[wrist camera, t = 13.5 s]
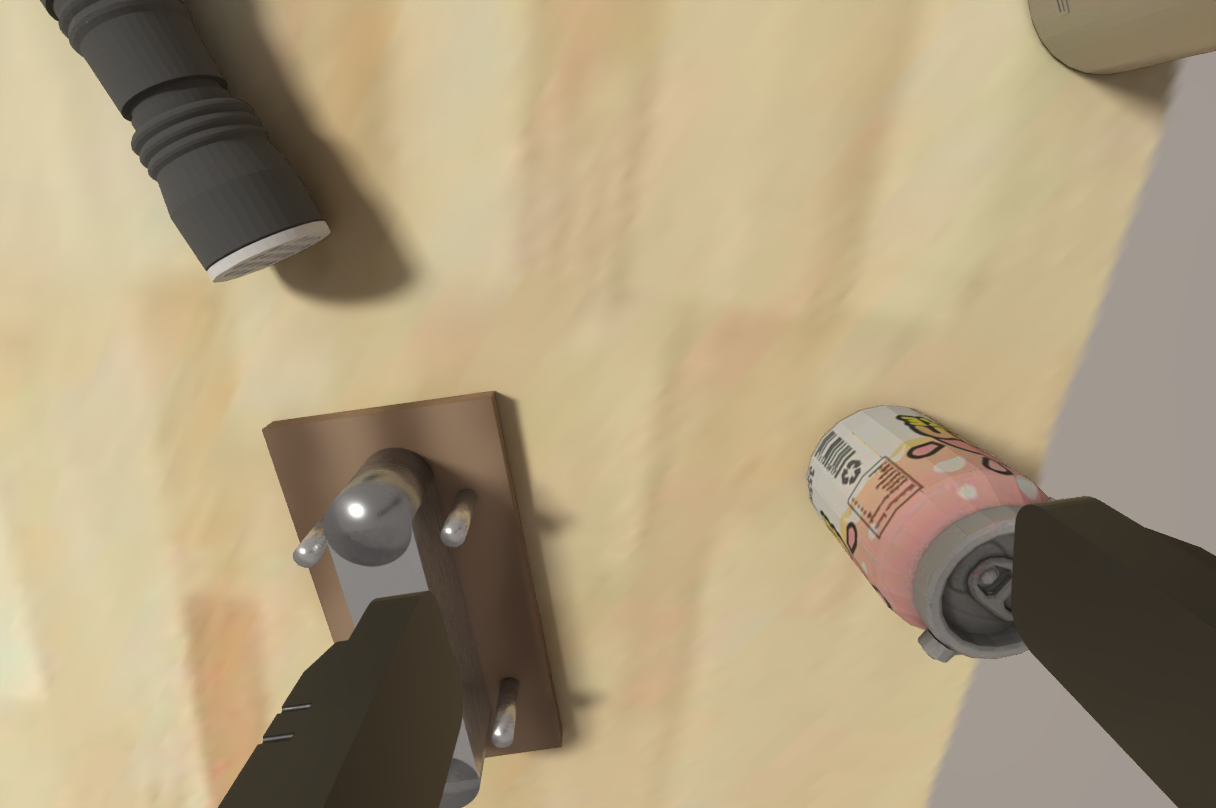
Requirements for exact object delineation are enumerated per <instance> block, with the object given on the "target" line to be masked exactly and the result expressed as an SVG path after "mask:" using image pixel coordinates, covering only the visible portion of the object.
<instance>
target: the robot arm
mask: <svg viewBox="0 0 1216 808" xmlns="http://www.w3.org/2000/svg"><path fill="white" fill-rule="evenodd" d="M1028 3H1029V8H1030V12H1031V17H1032V21H1033V24H1034V26H1035V28H1036V30H1037V32H1038V35H1039V37H1040V39H1041V41H1042V42H1043V43H1044V44H1045V46H1046V47H1047V48H1048V50H1049V51H1050V52H1051V53H1052V55H1053V56H1055V57H1056V58H1058V59H1059V60H1060V61H1062V62H1063V63H1064V64H1066V65H1067V66H1069V67H1071V68H1074V69H1077V70H1079V71H1082V72H1085V73H1093V74H1104V75H1105V74H1112V73H1119V72H1125V71H1130V70H1134V69H1138V68H1142V67H1147V66H1151V65H1155V64H1159V63H1164V62H1168V61H1172V60H1177V59H1181V58H1185V57H1189V56H1194V55H1199V54H1204V53H1208V52H1212V51H1216V0H1028ZM1011 611H1012V616H1013V619H1014V623H1015V625H1016V628H1017V630H1018V633H1019V635H1020V637H1021V638H1022V640H1023V642H1024V643H1025V645H1026V646H1027V648H1028V649H1029V650H1030V651H1031V653H1032V654H1033V655H1034V656H1035V657H1036V658H1037V659H1038V660H1039V661H1040V662H1041V663H1042V664H1043V665H1044V666H1045V668H1046V669H1047V670H1048V671H1049V672H1050V673H1051V674H1052V675H1053V676H1054V677H1055V678H1056V679H1057V680H1058V681H1059V682H1060V683H1061V684H1062V685H1063V687H1064V688H1065V689H1066V690H1067V691H1068V692H1069V693H1070V694H1071V695H1072V696H1073V697H1074V698H1075V699H1076V700H1077V701H1078V702H1079V703H1080V704H1081V705H1082V707H1083V708H1084V709H1085V710H1086V711H1087V712H1088V713H1089V714H1090V715H1091V716H1092V717H1093V718H1094V719H1095V720H1096V721H1097V722H1098V723H1099V724H1100V726H1102V728H1103V729H1104V730H1105V731H1106V732H1107V733H1108V734H1109V735H1110V736H1111V737H1112V738H1113V739H1114V740H1115V741H1116V742H1117V743H1118V744H1119V745H1120V747H1121V748H1122V749H1123V750H1124V751H1125V752H1126V753H1127V754H1128V755H1129V756H1130V757H1131V758H1132V759H1133V760H1134V761H1135V762H1136V764H1137V765H1138V766H1139V767H1140V768H1141V769H1142V770H1143V771H1144V772H1145V773H1146V774H1147V775H1148V776H1149V777H1150V778H1151V779H1152V780H1153V781H1154V783H1155V784H1156V785H1157V786H1158V787H1159V788H1160V789H1161V790H1162V791H1163V792H1164V793H1165V794H1166V795H1167V796H1168V797H1169V798H1170V799H1171V800H1172V801H1173V803H1174V804H1175V805H1176V806H1177V807H1178V808H1216V556H1214V555H1213V554H1211V553H1209V552H1207V551H1206V550H1204V549H1202V548H1201V547H1198V546H1195V545H1192V544H1189V543H1187V542H1184V541H1181V540H1178V539H1176V538H1173V537H1170V536H1167V535H1165V534H1162V533H1159V532H1156V531H1153V530H1151V529H1148V528H1144V527H1143V526H1141V525H1139V524H1138V523H1136V522H1134V521H1133V520H1131V519H1129V518H1128V517H1126V516H1124V515H1123V514H1121V513H1120V512H1118V511H1116V510H1115V509H1113V508H1111V507H1110V506H1108V505H1106V504H1105V503H1103V502H1101V501H1100V500H1097V499H1096V498H1092V497H1087V496H1083V497H1076V498H1070V499H1062V500H1056V501H1049V502H1042V503H1035V504H1029V505H1025V506H1023V507H1022V508H1021V509H1020V510H1019V512H1018V513H1017V516H1016V521H1015V534H1014V551H1013V568H1012V586H1011ZM462 715H463V691H462V683H461V678H460V675H459V671H458V668H457V665H456V661H455V658H454V655H453V651H452V648H451V645H450V641H449V638H448V635H447V631H446V628H445V625H444V621H443V618H442V615H441V611H440V608H439V605H438V602H437V600H436V598H435V596H434V595H433V593H432V592H430V591H422V592H415V593H408V594H401V595H394V596H387V597H381V598H375V599H373V600H372V601H371V602H370V604H369V605H368V607H367V608H366V610H365V612H364V613H363V615H362V617H361V619H360V620H359V622H358V624H357V626H356V627H355V629H354V631H353V632H352V634H351V636H350V638H349V639H348V640H345V641H338V642H336V643H335V644H334V645H333V646H331V647H330V648H329V649H328V650H327V651H326V652H325V653H324V654H323V655H322V656H321V657H320V658H319V659H317V660H316V661H315V662H314V663H313V664H312V665H311V666H310V667H309V668H308V669H307V670H306V671H305V672H304V673H303V674H302V676H301V677H300V679H299V680H298V682H297V684H296V685H295V687H294V688H293V690H292V691H291V693H290V695H289V696H288V698H287V699H286V701H285V703H284V704H283V706H282V713H280V714H277V715H276V717H275V718H274V720H273V721H272V723H271V725H270V726H269V728H268V729H267V731H266V733H265V734H264V736H263V743H262V744H259V745H257V747H256V748H255V750H254V751H253V753H252V755H251V756H250V758H249V759H248V761H247V763H246V764H245V766H244V767H243V769H242V770H241V772H240V774H239V775H238V777H237V778H236V780H235V781H234V783H233V785H232V786H231V788H230V789H229V791H228V793H227V794H226V796H225V797H224V799H223V800H222V802H221V804H220V805H219V807H218V808H439V806H440V802H441V799H442V795H443V791H444V787H445V784H446V780H447V776H448V773H449V769H450V765H451V761H452V758H453V754H454V750H455V747H456V743H457V739H458V735H459V732H460V728H461V723H462Z"/></svg>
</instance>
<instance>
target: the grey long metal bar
mask: <svg viewBox="0 0 1216 808" xmlns="http://www.w3.org/2000/svg"><path fill="white" fill-rule="evenodd" d="M445 521H446V520H445V516H444V512H443V508H442V504H441V500H440V496H439V492H438V488H437V484H436V480H435V476H434V473H433V470H432V468H431V467H430V465H429V464H428V463H427V461H426V460H425V459H423V458H422V457H421V456H420V455H418V454H417V453H415V452H413V451H410V450H407V449H404V448H386V449H382V450H379V451H377V452H375V453H374V454H372V455H371V456H370V457H369V458H368V459H367V460H366V461H365V463H364V464H363V465H362V466H361V468H360V469H359V470H358V471H357V473H356V474H355V475H354V476H353V477H352V479H351V480H350V481H349V482H348V484H347V485H346V486H345V487H344V489H343V490H342V491H341V492H340V494H339V495H338V496H337V497H336V499H335V500H334V501H333V502H332V503H331V505H330V506H329V507H328V509H327V511H326V513H325V516H324V521H323V528H324V534H325V537H326V540H327V543H328V547H329V550H330V553H331V556H332V559H333V562H334V565H335V568H336V571H337V574H338V578H339V581H340V584H341V587H342V590H343V593H344V596H345V599H346V602H347V606H348V609H349V612H350V615H351V618H352V621H353V624H354V627H356V626H357V624H358V622H359V620H360V619H361V617H362V615H363V613H364V612H365V610H366V608H367V607H368V605H369V604H370V602H371V601H372V600H373V599H375V598H381V597H387V596H394V595H401V594H408V593H415V592H422V591H430V592H432V593H433V595H434V596H435V598H436V600H437V602H438V605H439V608H440V611H441V615H442V618H443V621H444V625H445V628H446V631H447V635H448V638H449V641H450V645H451V648H452V651H453V655H454V658H455V661H456V665H457V668H458V671H459V675H460V678H461V683H462V691H463V715H462V723H461V728H460V732H459V735H458V739H457V743H456V747H455V750H454V754H453V758H452V761H451V765H450V769H449V773H448V776H447V780H446V784H445V787H444V791H443V795H442V799H441V802H440V806H439V808H461V807H464V806H466V805H467V804H469V803H470V802H471V801H472V800H473V799H474V798H475V797H476V795H477V794H478V791H479V788H480V782H481V776H482V770H483V764H484V758H485V752H486V746H487V740H488V734H489V728H490V722H491V716H492V707H491V703H490V699H489V695H488V691H487V687H486V683H485V679H484V675H483V671H482V666H481V662H480V658H479V654H478V650H477V646H476V642H475V638H474V634H473V630H472V626H471V622H470V618H469V614H468V610H467V606H466V601H465V597H464V593H463V589H462V585H461V581H460V577H459V573H458V569H457V565H456V561H455V557H454V553H453V549H452V547H449V546H447V545H445V544H444V543H443V542H442V541H441V538H440V534H441V531H442V528H443V526H444V524H445Z"/></svg>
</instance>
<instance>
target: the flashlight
mask: <svg viewBox="0 0 1216 808" xmlns="http://www.w3.org/2000/svg"><path fill="white" fill-rule="evenodd" d="M40 1H41V2H42V4H43V5H44V7H45V8H46V10H47V11H48V13H49V14H50V16H52V17H53V18H54V19H55V20H57V21H59V27H60V30H61V31H62V33H63V34H64V35H65V36H66V37H67V38H69V42H70V45H71V46H72V48H73V49H74V50H75V51H76V52H77V53H78V54H80V55H81V56H82V57H84V58H85V60H86V61H87V63H88V64H89V66H90V67H91V69H92V70H93V72H94V73H95V75H96V76H97V78H98V79H99V81H100V82H101V84H102V85H103V87H104V88H105V90H106V92H107V93H108V95H109V96H110V98H111V99H112V101H113V102H114V104H115V105H116V107H117V108H118V110H119V111H120V113H121V114H122V116H123V117H124V118H125V119H126V120H128V121H131V122H132V125H133V127H134V128H135V130H136V132H135V133H134V135H133V137H132V141H131V147H132V150H133V151H134V153H136V154H137V155H138V156H140V162H141V163H142V165H143V166H145V167H146V168H148V173H149V175H150V177H151V178H152V179H154V180H156V181H158V184H159V187H160V189H161V192H162V195H163V198H164V201H165V203H166V206H167V209H168V212H169V214H170V217H171V219H172V221H173V222H174V224H175V225H176V227H177V228H178V230H179V231H180V233H181V234H182V236H183V237H184V239H185V240H186V242H187V243H188V245H189V246H190V248H191V249H192V251H193V252H194V254H195V255H196V257H197V258H198V260H199V261H200V263H201V264H202V266H203V267H204V269H205V270H206V271H207V273H208V275H209V276H210V278H211V279H212V281H213V282H223V281H228V280H232V279H235V278H239V277H242V276H244V275H247V274H250V273H253V272H255V271H258V270H261V269H264V268H266V267H268V266H271V265H273V264H276V263H278V262H280V261H282V260H284V259H286V258H288V257H290V256H292V255H294V254H296V253H298V252H300V251H302V250H304V249H306V248H308V247H310V246H312V245H314V244H316V243H318V242H319V241H321V240H322V239H324V238H325V237H326V236H328V235H329V234H330V233H331V231H330V229H329V227H328V225H327V224H326V222H325V221H324V219H323V217H322V215H321V214H320V212H319V210H318V209H317V207H316V205H315V203H314V202H313V200H312V198H311V197H310V195H309V193H308V191H307V190H306V188H305V186H304V185H303V183H302V181H301V179H300V178H299V176H298V174H297V173H296V171H295V169H294V168H293V167H292V166H291V165H290V164H289V163H288V162H287V161H286V160H285V159H284V157H283V156H282V155H281V154H280V153H279V152H278V151H277V150H276V149H275V148H274V147H273V146H272V144H271V143H270V142H269V141H268V133H267V132H266V131H265V130H264V129H263V128H262V127H261V122H260V120H259V119H258V118H257V117H256V116H255V115H254V110H253V108H252V107H251V106H250V105H249V104H247V103H246V102H244V101H242V100H239V99H235V98H232V97H231V95H230V93H229V92H228V91H227V82H226V81H225V79H224V77H223V76H222V74H221V72H220V71H219V69H218V67H217V66H216V64H215V62H214V60H213V59H212V57H211V55H210V54H209V52H208V50H207V49H206V47H205V45H204V44H203V42H202V40H201V39H200V37H199V35H198V34H197V32H196V30H195V28H194V27H193V21H192V17H191V15H190V13H189V11H188V10H187V9H186V8H185V7H184V6H183V3H182V0H40Z"/></svg>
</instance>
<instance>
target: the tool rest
mask: <svg viewBox="0 0 1216 808" xmlns="http://www.w3.org/2000/svg"><path fill="white" fill-rule="evenodd" d="M262 432H263V435H264V437H265V440H266V443H267V446H268V449H269V452H270V455H271V458H272V461H273V464H274V467H275V470H276V473H277V476H278V479H279V482H280V485H281V488H282V491H283V494H284V497H285V499H286V502H287V505H288V508H289V511H290V514H291V517H292V520H293V523H294V526H295V529H296V532H297V535H298V538H299V541H300V545H299V546H298V547H297V548H296V550H295V551H294V553H293V559H294V561H295V562H296V563H297V564H298V565H299V566H302V567H305V568H309V570H310V573H311V576H312V579H313V582H314V585H315V588H316V591H317V594H318V597H319V600H320V603H321V606H322V609H323V612H324V615H325V618H326V621H327V623H328V626H329V629H330V632H331V635H332V638H333V641H334V644H335V643H336V642H338V641H345V640H348V639H349V638H350V636H351V634H352V632H353V631H354V629H355V627H354V624H353V621H352V618H351V615H350V612H349V609H348V606H347V602H346V599H345V596H344V593H343V590H342V587H341V584H340V581H339V578H338V574H337V571H336V568H335V565H334V562H333V559H332V556H331V553H330V550H329V547H328V543H327V540H326V537H325V534H324V528H323V521H324V516H325V513H326V511H327V509H328V507H329V506H330V505H331V503H332V502H333V501H334V500H335V499H336V497H337V496H338V495H339V494H340V492H341V491H342V490H343V489H344V487H345V486H346V485H347V484H348V482H349V481H350V480H351V479H352V477H353V476H354V475H355V474H356V473H357V471H358V470H359V469H360V468H361V466H362V465H363V464H364V463H365V461H366V460H367V459H368V458H369V457H370V456H371V455H372V454H374V453H375V452H377V451H379V450H382V449H386V448H404V449H407V450H410V451H413V452H415V453H417V454H418V455H420V456H421V457H422V458H423V459H425V460H426V461H427V463H428V464H429V465H430V467H431V468H432V470H433V473H434V476H435V480H436V484H437V488H438V492H439V496H440V500H441V504H442V508H443V512H444V516H445V520H446V521H445V524H444V526H443V528H442V531H441V534H440V538H441V541H442V542H443V543H444V544H445V545H447V546H449V547H452V549H453V553H454V557H455V561H456V565H457V569H458V573H459V577H460V581H461V585H462V589H463V593H464V597H465V601H466V606H467V610H468V614H469V618H470V622H471V626H472V630H473V634H474V638H475V642H476V646H477V650H478V654H479V658H480V662H481V666H482V671H483V675H484V679H485V683H486V687H487V691H488V695H489V699H490V703H491V707H492V716H491V722H490V728H489V734H488V740H487V746H486V752H485V758H486V757H493V756H501V755H508V754H515V753H522V752H529V751H536V750H543V749H550V748H557V747H562V727H561V722H560V717H559V712H558V707H557V702H556V697H555V692H554V687H553V682H552V677H551V672H550V667H549V662H548V657H547V652H546V647H545V642H544V637H543V632H542V627H541V622H540V617H539V612H538V607H537V602H536V597H535V592H534V587H533V582H532V577H531V572H530V567H529V562H528V557H527V552H526V547H525V542H524V537H523V532H522V527H521V522H520V517H519V512H518V507H517V502H516V497H515V492H514V487H513V483H512V478H511V473H510V468H509V463H508V458H507V453H506V448H505V443H504V438H503V433H502V428H501V423H500V418H499V413H498V408H497V403H496V398H495V393H494V391H490V392H483V393H475V394H468V395H461V396H454V397H447V398H439V399H432V400H425V401H418V402H410V403H403V404H396V405H389V406H382V407H374V408H367V409H360V410H353V411H346V412H338V413H331V414H324V415H317V416H310V417H302V418H295V419H288V420H281V421H274V422H272V423H270V424H269V425H267V426H266V427H265V428H263V429H262Z"/></svg>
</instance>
